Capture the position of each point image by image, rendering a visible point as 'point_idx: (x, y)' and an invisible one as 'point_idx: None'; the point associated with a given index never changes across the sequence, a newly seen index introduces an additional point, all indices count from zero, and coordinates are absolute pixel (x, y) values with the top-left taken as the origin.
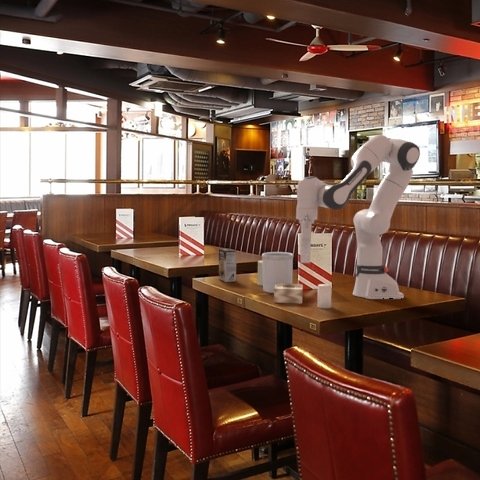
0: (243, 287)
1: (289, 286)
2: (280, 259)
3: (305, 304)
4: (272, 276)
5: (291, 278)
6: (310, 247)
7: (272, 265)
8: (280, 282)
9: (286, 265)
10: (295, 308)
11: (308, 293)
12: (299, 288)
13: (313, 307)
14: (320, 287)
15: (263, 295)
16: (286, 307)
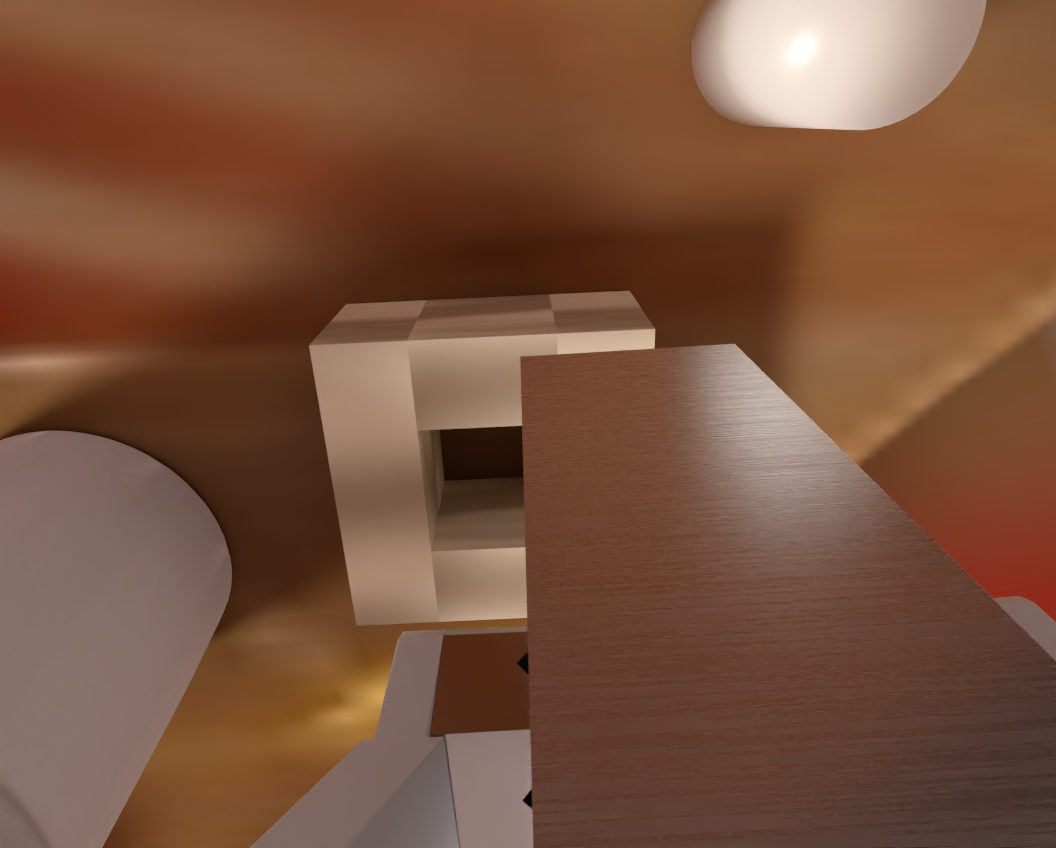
0: None
1: (425, 480)
2: (27, 819)
3: (670, 255)
4: (170, 701)
5: (11, 498)
6: (915, 528)
7: (108, 817)
8: (179, 583)
9: (5, 669)
10: (850, 340)
11: (103, 248)
12: None
13: (800, 166)
14: (939, 84)
15: (361, 636)
16: (813, 419)
